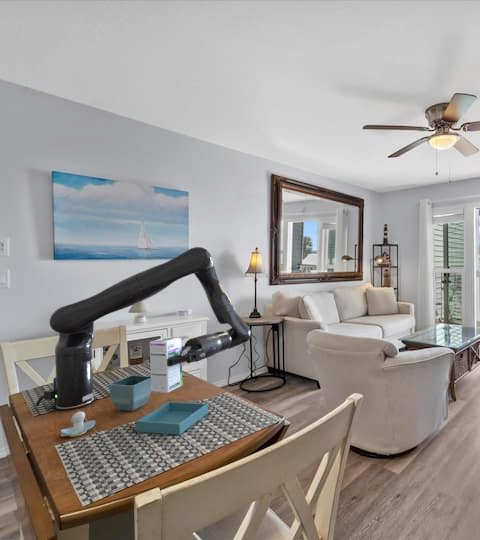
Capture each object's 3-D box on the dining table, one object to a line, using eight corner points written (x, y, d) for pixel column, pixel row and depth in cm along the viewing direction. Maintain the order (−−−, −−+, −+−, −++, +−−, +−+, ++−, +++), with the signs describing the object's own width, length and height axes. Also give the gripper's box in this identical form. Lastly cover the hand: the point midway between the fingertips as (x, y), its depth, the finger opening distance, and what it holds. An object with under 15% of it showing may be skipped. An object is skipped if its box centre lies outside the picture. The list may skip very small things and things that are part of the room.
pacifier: (56, 436, 90) (64, 442, 87) (55, 413, 90) (63, 418, 87) (89, 425, 96) (98, 430, 93) (88, 403, 96) (97, 408, 93)
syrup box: (168, 393, 93) (167, 341, 92) (150, 391, 94) (149, 340, 93) (182, 385, 98) (182, 337, 98) (165, 384, 100) (165, 336, 99)
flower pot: (155, 402, 111) (154, 376, 111) (133, 414, 102) (132, 385, 102) (131, 401, 112) (131, 374, 112) (108, 412, 104) (107, 384, 103)
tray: (135, 431, 92) (135, 421, 92) (169, 410, 105) (169, 401, 105) (179, 434, 90) (179, 424, 90) (208, 412, 103) (208, 403, 103)
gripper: (186, 334, 112) (139, 346, 96) (221, 337, 107) (178, 350, 91) (186, 356, 112) (139, 372, 96) (221, 360, 107) (179, 377, 91)
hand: (159, 361), depth 94 cm, fingers closed on syrup box, 6 cm apart
